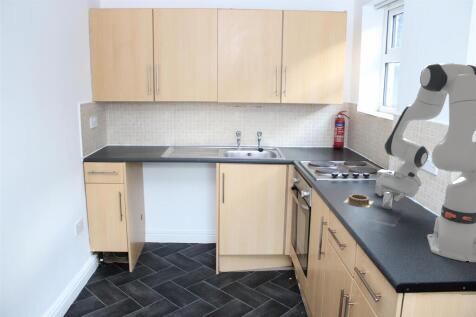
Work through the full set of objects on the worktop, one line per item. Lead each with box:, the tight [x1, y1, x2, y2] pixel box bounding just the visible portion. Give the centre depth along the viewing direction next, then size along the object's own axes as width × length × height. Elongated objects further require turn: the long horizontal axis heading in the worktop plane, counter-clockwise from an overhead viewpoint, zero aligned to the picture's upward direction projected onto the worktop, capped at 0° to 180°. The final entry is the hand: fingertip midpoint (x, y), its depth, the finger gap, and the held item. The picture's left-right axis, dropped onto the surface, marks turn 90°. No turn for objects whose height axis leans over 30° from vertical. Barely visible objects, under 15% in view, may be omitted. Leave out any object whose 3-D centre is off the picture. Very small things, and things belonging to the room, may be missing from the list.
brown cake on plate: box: [342, 193, 374, 208], centre depth 184 cm, size 12×12×4 cm
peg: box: [382, 191, 394, 210], centre depth 177 cm, size 4×4×8 cm
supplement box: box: [374, 169, 395, 196], centre depth 201 cm, size 7×7×13 cm
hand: (386, 197), depth 177 cm, fingers open, 8 cm apart
